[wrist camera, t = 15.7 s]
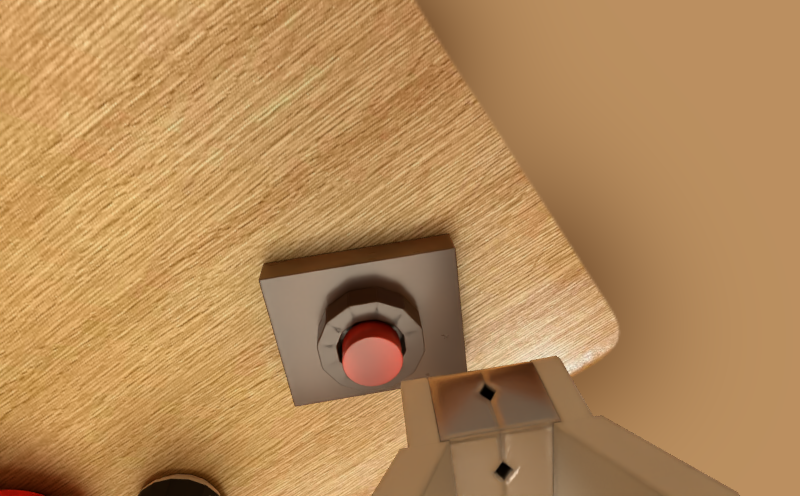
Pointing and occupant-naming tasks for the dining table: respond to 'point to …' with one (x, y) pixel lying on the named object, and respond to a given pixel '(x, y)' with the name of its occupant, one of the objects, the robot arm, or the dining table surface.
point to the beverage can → (179, 487)
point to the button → (372, 353)
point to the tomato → (18, 493)
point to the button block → (365, 313)
